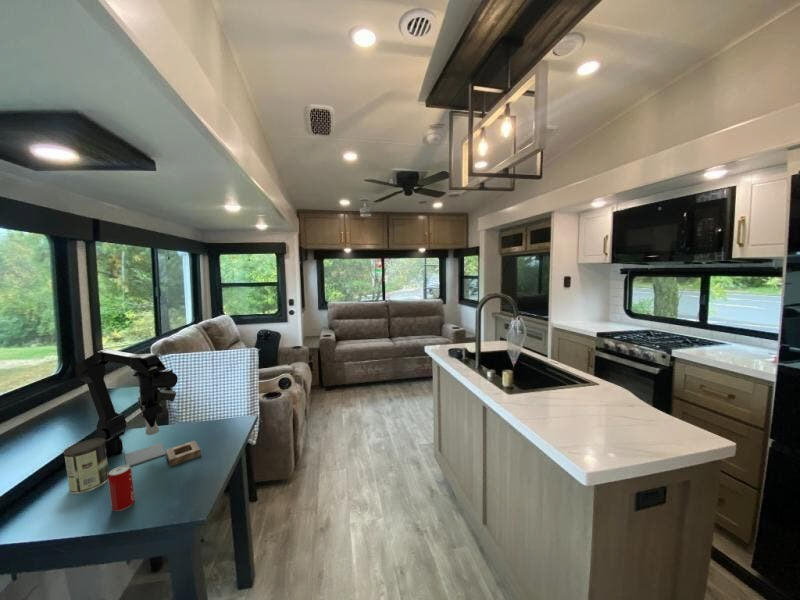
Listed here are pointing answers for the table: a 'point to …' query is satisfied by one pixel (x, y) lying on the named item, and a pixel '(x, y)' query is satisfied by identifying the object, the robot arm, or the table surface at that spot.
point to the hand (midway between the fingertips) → (151, 425)
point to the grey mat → (144, 455)
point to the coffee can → (86, 465)
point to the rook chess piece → (152, 429)
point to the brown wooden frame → (183, 453)
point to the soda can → (121, 488)
